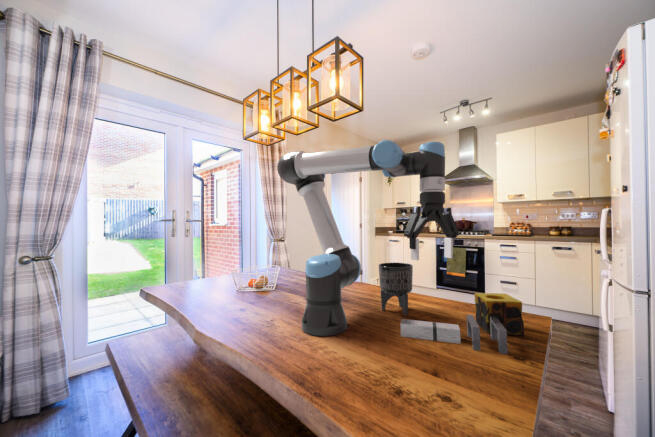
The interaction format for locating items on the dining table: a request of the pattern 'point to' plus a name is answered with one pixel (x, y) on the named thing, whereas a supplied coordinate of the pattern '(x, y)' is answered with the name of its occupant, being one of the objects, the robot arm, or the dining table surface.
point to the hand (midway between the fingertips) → (432, 258)
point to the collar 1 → (473, 332)
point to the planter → (395, 283)
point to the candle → (499, 312)
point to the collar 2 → (498, 334)
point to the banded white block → (430, 331)
